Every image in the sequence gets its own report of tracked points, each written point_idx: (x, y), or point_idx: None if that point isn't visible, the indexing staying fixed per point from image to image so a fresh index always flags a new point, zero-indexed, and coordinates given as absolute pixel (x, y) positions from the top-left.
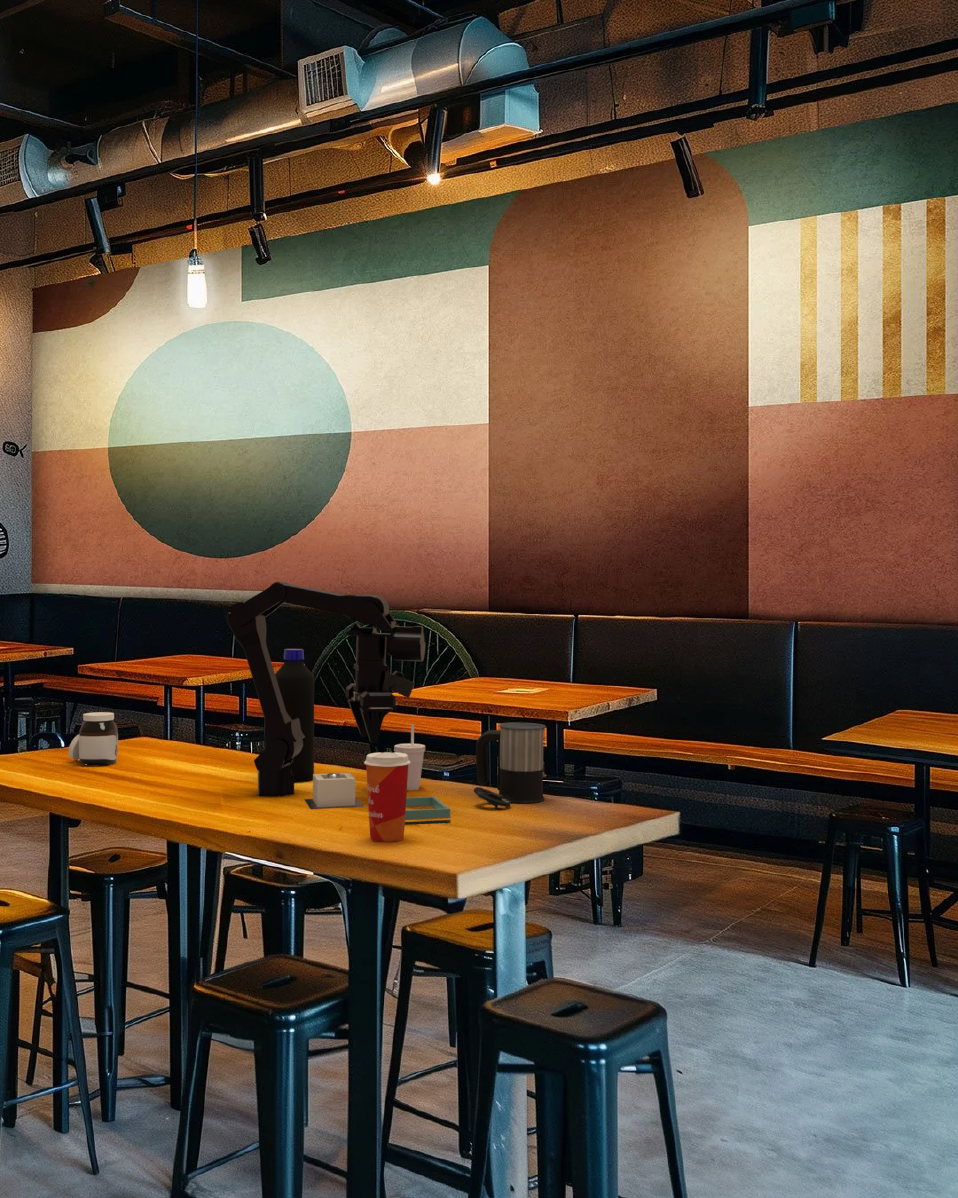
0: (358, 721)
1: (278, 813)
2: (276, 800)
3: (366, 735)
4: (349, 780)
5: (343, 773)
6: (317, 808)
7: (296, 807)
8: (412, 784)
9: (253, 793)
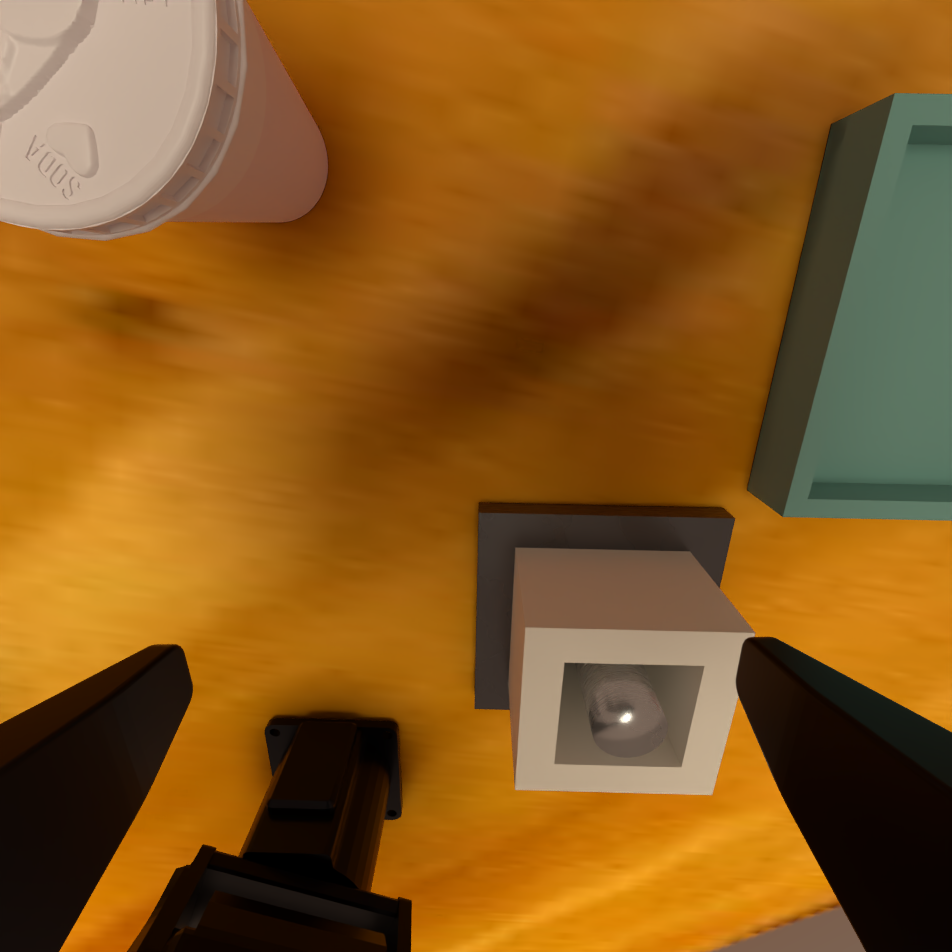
0: (41, 937)
1: None
2: None
3: (175, 651)
4: None
5: (538, 660)
6: None
7: None
8: (311, 133)
9: (212, 806)
